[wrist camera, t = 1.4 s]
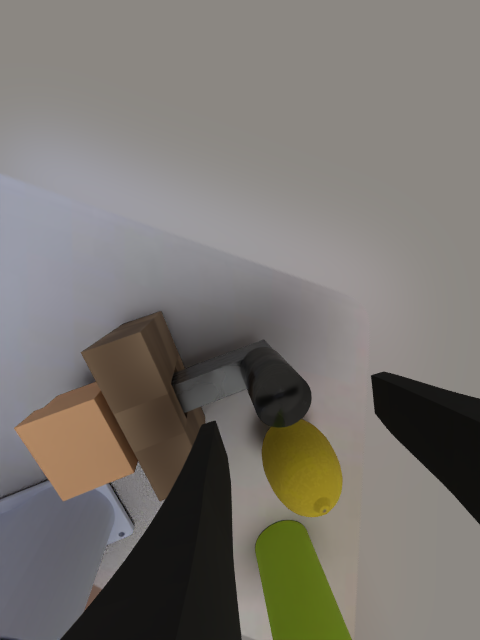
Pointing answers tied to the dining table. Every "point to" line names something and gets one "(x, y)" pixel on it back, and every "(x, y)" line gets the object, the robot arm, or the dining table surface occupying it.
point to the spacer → (78, 442)
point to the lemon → (302, 468)
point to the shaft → (247, 384)
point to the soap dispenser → (296, 586)
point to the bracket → (146, 396)
